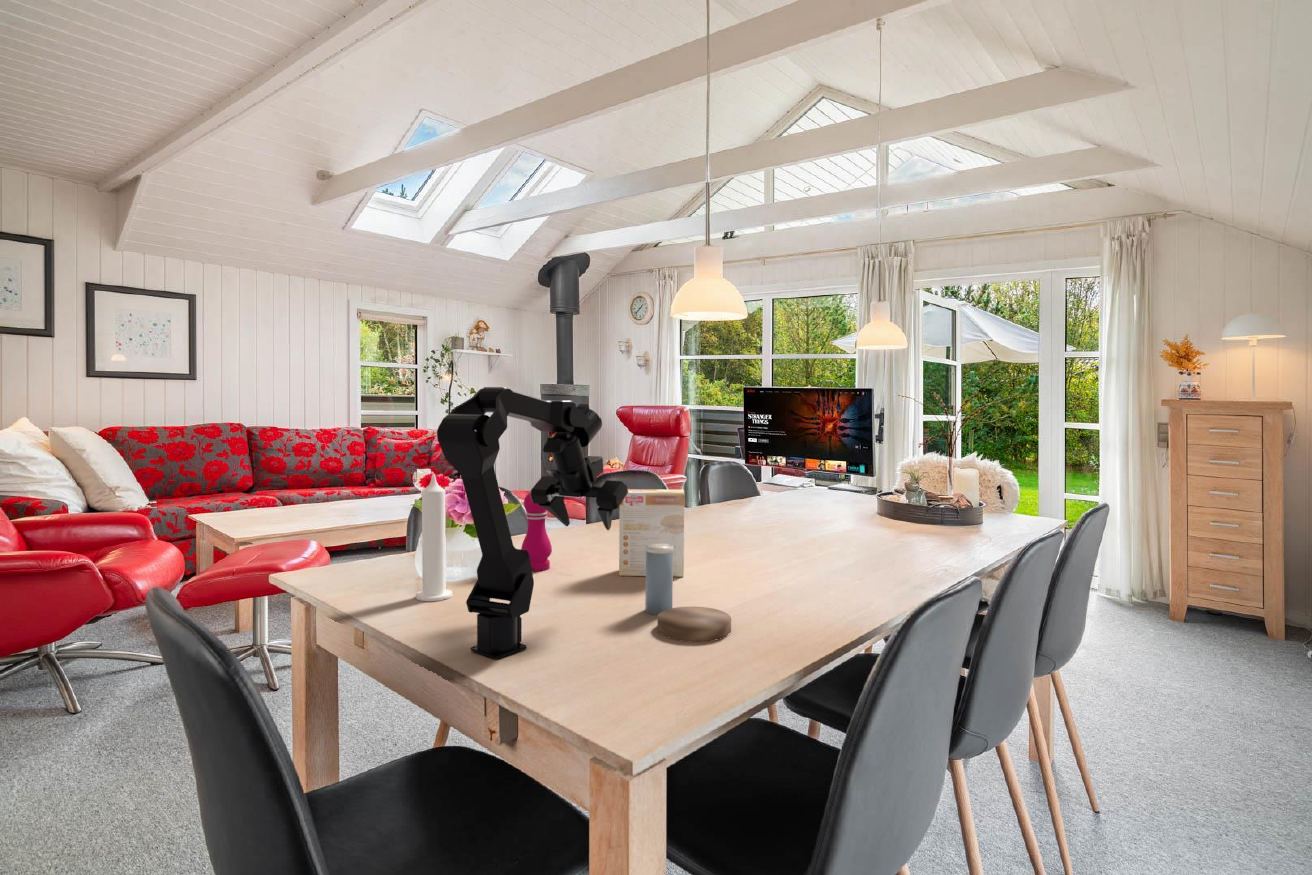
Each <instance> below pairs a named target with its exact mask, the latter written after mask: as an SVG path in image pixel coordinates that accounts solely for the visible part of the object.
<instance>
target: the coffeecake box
mask: <svg viewBox="0 0 1312 875" xmlns="http://www.w3.org/2000/svg"><path fill="white" fill-rule="evenodd" d="M627 489H628V493H627V495H626V496H625V498H624V500H623V501H622V503H621V504H620V506H619V516H618V517H619V520H618V521H619V525H618V526H619V527H618V528H619V529H618V530H619V536H618V538H619V540H618V541H619V542H618V543H619V548H618V549H619V550H618V551H619V553H618V556H619V557H618V562H619V564H618V575H620V576H619V577H621V576H623V577H624V576H625V577H626V576H627V577H630V576H631V577H633V576H635V577H646V545H649V544H669V545H672V546H673V578H675V577H676V578H677V577H680V578H684V572H685V489H665V488H664V489H658V488H657V489H656V488H655V489H654V488H653V489H650V488H649V489H648V488H647V489H646V488H644V489H642V488H640V489H639V488H637V489H636V488H635V489H634V488H633V489H632V488H627Z"/></svg>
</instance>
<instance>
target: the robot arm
mask: <svg viewBox="0 0 1312 875" xmlns="http://www.w3.org/2000/svg"><path fill="white" fill-rule="evenodd" d="M486 413H492V414H491V415H490V416H489V415H487V414H486ZM508 417H509V418H514V419H519V420H523V421H527V422H529V423H530V426H531V427H532V428H534V429H536V430H537V431H539V432H546V433H547V432H550V433H551V432H552V433H554V434H552V436H551V437H547V439H546V442H545V444H544V445H543V447H542V452H543V453H548V454H551V455H550V456H551V458H552V461H553V464H554V467H555V468H554V469H555V470H554V471H553V472H552V476H545V475H543V476H541V477H540V478H539V480H537V481H536V483H535V485H533V487H532V488H531V490H530V492H529V493H530V496H531V499H532V502H533V503H537V504H539V506H540V507H543V508H545V509H546V512H548V513H550V514H551V515H552V516H553V517H555V518H556V519H557V520H558V521H559V522H561V524H563V526H565V527H569V526H570V523H571V522H570V515H569V513H568V510H567V506H566V503H565V500H564V498H567V497H568V498H583V497H585V498H595V502H596V506H598V507H597V512H598V514H599V517H600V518H601V521H602V524H603V525H604V528H605V530H607V531H610V529H611V527H612V523H613V522H612V521H613V516H614V510H617V509H619V508H620V504H621V503H622V501H623V500H624V498H625V496H626V495H627V493H628V489H629V488H628V485H627V483H626V482H625V481H621V480H607V479H606V480H605V481H604V483H603V484H602V486H598V485H597V486H596V485H592V484H593V483H595V482H597V480H598V477H597V476H598V475H600V474H604V472H605V471H604V458H603V456H599V455H597V456H595V455H584V451H583V448H586V447H587V446H588V445H589V444H590V443H591V442H592V441H593V439H594V438H595V436H597V435H598V433H599V431H600V430H601V428H602V426H603V421H602V418H601V417H600V415H599V414H598V413H597V412H595V411H594V410H592V409H591V408H590V406H589V404H587V403H579V404H578V405H577V404H576V403H575V402H574V401H573V400H568V399H567V400H563V399H561V400H560V399H559V400H557V399H555V400H554V399H553V400H552V399H550V400H549V399H548V400H547V399H542V398H538V397H534V396H532V395H531V396H530V395H527V394H524V393H521V392H518V391H516V390H515V391H514V390H512V389H511V388H508V387H506V386H501V387H500V386H485V387H483V388H480V389H479V390H478V391H477V392H476V393H474V395H473V396H472V397H470V398H469V399H467V400H466V401H463V402H462V403H460V404H458V405H457V406H456V407H454V408H453V409H452V410H451V411H450V412H449V413H448V414H447V415H445V416H444V417H443V418H442V419H441V422H440V424H439V425H438V428H437V430H436V437H437V442H438V445H439V447H440V449H441V451H442V454H443V456H444V458H445V460H446V461H447V462H448V463H449V464H450V465H451V467H452V468H454V470H456V471H457V473H458V474H460V477H461V482H462V485H463V488H464V492H465V495H466V500H467V502H468V506H469V511H470V514H471V517H472V522H473V525H474V529H475V533H476V536H477V540H478V545H479V547H480V548H479V549H480V550H481V558H480V561H479V563H478V566H477V567H476V568H477V569H476V576H477V577H476V578H477V579H476V581H475V584H474V585H473V587H472V589H471V591H470V593H469V595H468V597H467V599H466V601H465V604H466V606H467V611H468V613H475V614H476V613H477V614H476V644H475V645H473V646H471V647H470V651H471V652H474V653H476V654H479V655H483V656H486V657H488V658H491V659H494V660H498V659H501V658H502V659H503V658H504V657H507V656H509V655H513V654H515V653H518V652H520V651H523V650H526V649H527V644H524V643H522V629H523V628H522V625H523V624H522V623H523V622H522V620H523V619H522V617H521V616H522V615H524V614H526V613H528V612H529V611H530V607H531V601H532V596H533V591H534V586H535V583H534V582H535V580H534V576H533V575H534V574H533V573H534V572H535V571H534V569H533V568H532V566H531V563H530V555H529V553H528V551H527V550H522V549H520V548H516V547H515V546H514V543H513V540H512V539H513V538H512V536H511V531H510V526H509V523H508V519H507V515H506V511H505V508H504V503H503V499H502V495H501V491H500V487H499V486H500V485H499V483H498V480H497V475H496V471H495V462H496V460H497V458H498V454H499V453H500V438H501V437H502V435H503V434H504V432H505V431H506V430H507V428H508ZM492 599H494V600H498V601H499V600H500V602H498V601H492ZM501 601H507V602H509V603H505V602H501Z"/></svg>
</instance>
